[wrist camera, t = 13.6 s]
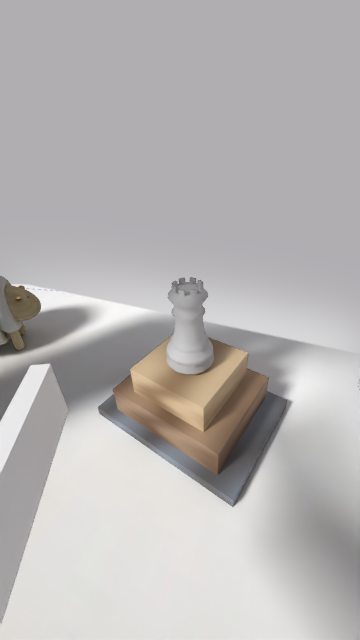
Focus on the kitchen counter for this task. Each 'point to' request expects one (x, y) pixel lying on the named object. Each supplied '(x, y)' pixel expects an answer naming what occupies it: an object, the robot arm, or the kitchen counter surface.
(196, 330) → the rook chess piece
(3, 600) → the robot arm
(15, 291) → the toy sheep
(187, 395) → the plinth
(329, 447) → the kitchen counter surface
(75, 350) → the kitchen counter surface
